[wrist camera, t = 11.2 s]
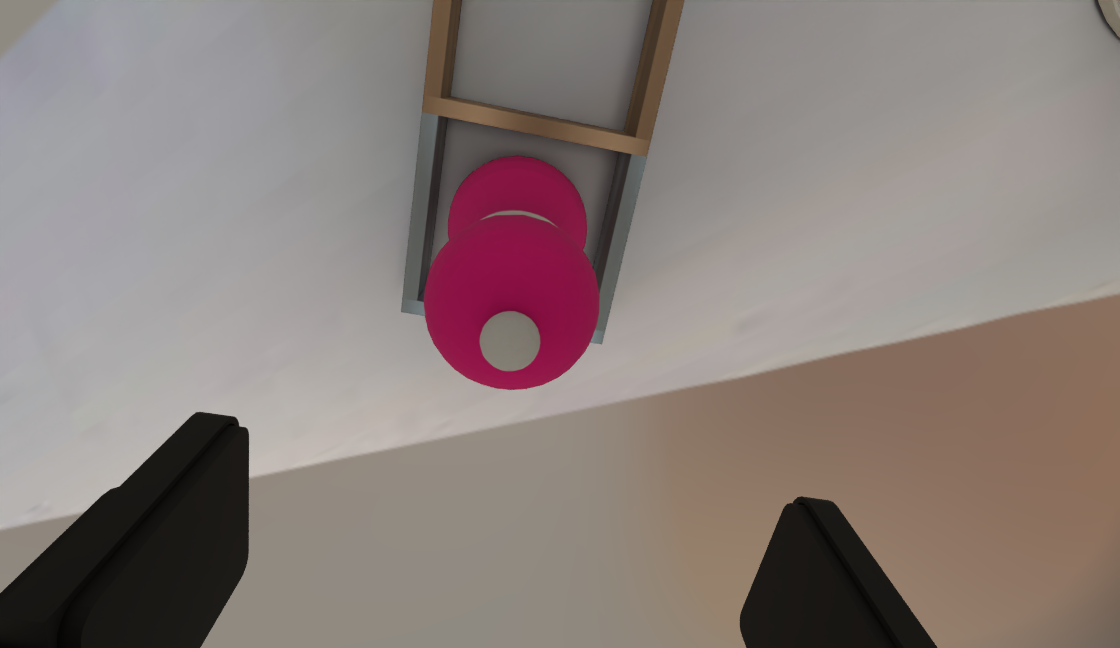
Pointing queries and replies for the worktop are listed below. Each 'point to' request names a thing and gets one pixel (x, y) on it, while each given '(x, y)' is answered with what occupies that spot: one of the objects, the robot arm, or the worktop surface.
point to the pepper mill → (513, 277)
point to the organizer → (628, 143)
